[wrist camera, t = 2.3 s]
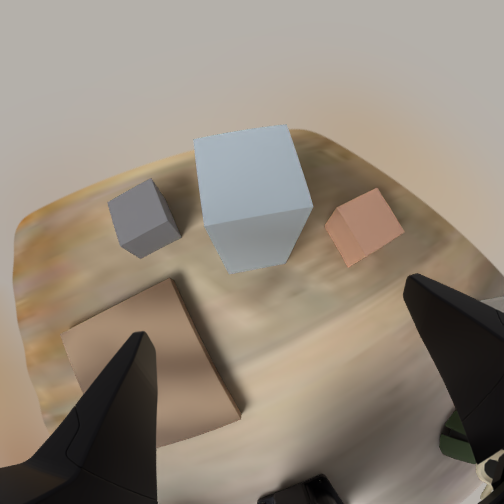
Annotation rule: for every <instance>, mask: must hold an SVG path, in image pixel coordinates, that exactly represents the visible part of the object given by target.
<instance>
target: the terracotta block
mask: <svg viewBox="0 0 504 504" xmlns="http://www.w3.org/2000/svg"><path fill="white" fill-rule="evenodd" d="M325 228H326V230H327V232H328V233H329V235H330V237H331V238H332V240H333V242H334V244H335V245H336V247H337V249H338V250H339V252H340V254H341V256H342V258H343V259H344V261H345V263H346V265H347V267H350V266H352V265H354V264H355V263H357V262H359V261H360V260H362V259H364V258H365V257H367V256H369V255H370V254H372V253H374V252H375V251H377V250H378V249H380V248H382V247H383V246H385V245H386V244H388V243H389V242H391V241H392V240H394V239H395V238H397V237H398V236H400V235H401V234H403V233H404V230H403V229H402V227H401V225H400V223H399V222H398V220H397V218H396V217H395V215H394V213H393V212H392V210H391V209H390V207H389V205H388V204H387V202H386V201H385V199H384V198H383V196H382V195H381V193H380V192H379V190H378V189H377V188H375V189H373V190H371V191H369V192H367V193H365V194H363V195H361V196H359V197H357V198H355V199H353V200H351V201H349V202H347V203H344V204H342V205H340V206H338V207H337V208H336V209H335V211H334V212H333V214H332V215H331V217H330V218H329V220H328V221H327V223H326V224H325Z"/></svg>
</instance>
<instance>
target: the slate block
mask: <svg viewBox="0 0 504 504" xmlns="http://www.w3.org/2000/svg"><path fill="white" fill-rule="evenodd" d="M194 149H195V158H196V167H197V175H198V183H199V191H200V199H201V206H202V214H203V221H204V227H205V229H206V231H207V233H208V235H209V237H210V238H211V240H212V242H213V244H214V246H215V248H216V250H217V252H218V254H219V256H220V258H221V260H222V262H223V264H224V266H225V267H226V269H227V271H228V273H229V274H233V273H239V272H244V271H249V270H254V269H260V268H265V267H270V266H275V265H280V264H285V263H286V261H287V259H288V257H289V255H290V253H291V251H292V249H293V247H294V245H295V243H296V241H297V239H298V237H299V235H300V233H301V231H302V229H303V227H304V225H305V223H306V221H307V219H308V217H309V215H310V212H311V210H312V208H313V204H312V200H311V197H310V194H309V190H308V187H307V184H306V181H305V178H304V174H303V171H302V168H301V165H300V162H299V159H298V156H297V153H296V150H295V147H294V144H293V141H292V138H291V135H290V133H289V130H288V127H287V125H277V126H268V127H261V128H254V129H247V130H241V131H235V132H229V133H223V134H218V135H213V136H208V137H203V138H198V139H194Z"/></svg>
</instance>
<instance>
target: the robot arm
mask: <svg viewBox="0 0 504 504" xmlns="http://www.w3.org/2000/svg"><path fill="white" fill-rule="evenodd" d="M403 298H404V301H405V303H406V306H407V308H408V310H409V312H410V314H411V317H412V319H413V321H414V323H415V326H416V328H417V330H418V332H419V334H420V336H421V338H422V340H423V342H424V344H425V346H426V348H427V349H428V351H429V353H430V355H431V357H432V359H433V361H434V363H435V365H436V367H437V369H438V371H439V373H440V375H441V377H442V379H443V381H444V383H445V385H446V388H447V390H448V392H449V394H450V396H451V399H452V401H453V403H454V405H455V408H456V410H457V413H458V415H459V417H460V420H461V422H462V425H463V428H464V430H465V433H466V435H467V438H468V441H469V444H470V446H471V449H472V452H473V455H474V458H475V461H476V463H477V465H478V464H480V463H482V462H483V461H485V460H486V459H488V458H490V457H491V456H493V455H494V454H496V453H497V452H499V451H500V450H502V449H503V448H504V313H503V312H501V311H499V310H497V309H495V308H493V307H491V306H489V305H487V304H485V303H483V302H481V301H479V300H476V299H474V298H472V297H470V296H468V295H466V294H463V293H461V292H459V291H457V290H455V289H452V288H450V287H448V286H446V285H444V284H441V283H439V282H437V281H434V280H432V279H430V278H428V277H425V276H423V275H421V274H418V273H416V274H412V275H409V276H408V277H407V279H406V283H405V288H404V292H403ZM157 402H158V385H157V363H156V350H155V347H154V345H153V343H152V341H151V340H150V338H149V336H148V334H147V333H146V332H145V331H138V332H133V333H132V334H131V336H130V337H129V338H128V339H127V340H126V342H125V343H124V344H123V345H122V346H121V348H120V349H119V350H118V351H117V353H116V354H115V355H114V356H113V358H112V359H111V360H110V361H109V363H108V364H107V365H106V366H105V368H104V369H103V370H102V371H101V373H100V374H99V375H98V376H97V378H96V379H95V380H94V381H93V383H92V384H91V385H90V387H89V388H88V389H87V390H86V392H85V393H84V394H83V396H82V397H81V398H80V400H79V401H78V402H77V404H76V406H74V407H73V409H72V410H71V411H70V413H69V414H68V415H67V417H66V418H65V419H64V420H63V422H62V423H61V424H60V425H59V427H58V428H57V429H56V430H55V431H54V432H53V434H52V435H51V436H50V437H49V438H48V439H47V440H46V441H45V443H44V444H43V445H42V446H41V447H40V448H39V449H38V451H37V452H36V453H35V454H34V455H33V456H32V457H31V458H30V459H28V460H27V461H25V462H23V463H20V464H17V465H12V466H8V467H3V468H0V504H158V501H157V478H156V428H157ZM320 479H323V480H321V481H319V480H320ZM491 485H492V487H493V490H494V491H493V492H491V493H490V494H489V495H488V496H487V497H485V498H484V499H483V500H482V501H481V502H479V503H478V504H504V453H503V454H502V455H501V456H500V457H499V459H498V463H497V466H496V470H495V473H494V477H493V480H492V483H491ZM262 502H264V504H344V503H343V502H342V500H341V499H340V497H339V496H338V494H337V493H336V491H335V490H334V488H333V487H332V485H331V483H330V482H329V480H328V479H327V477H326V476H325V475H323V474H320V475H318V476H316V477H313V478H311V479H309V480H307V481H305V482H302V483H299V484H297V485H294V486H292V487H290V488H287V489H285V490H282V491H279V492H277V493H275V494H272V495H269V496H267V497H264V498H261V499H259V500H258V501H257V504H262Z"/></svg>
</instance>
